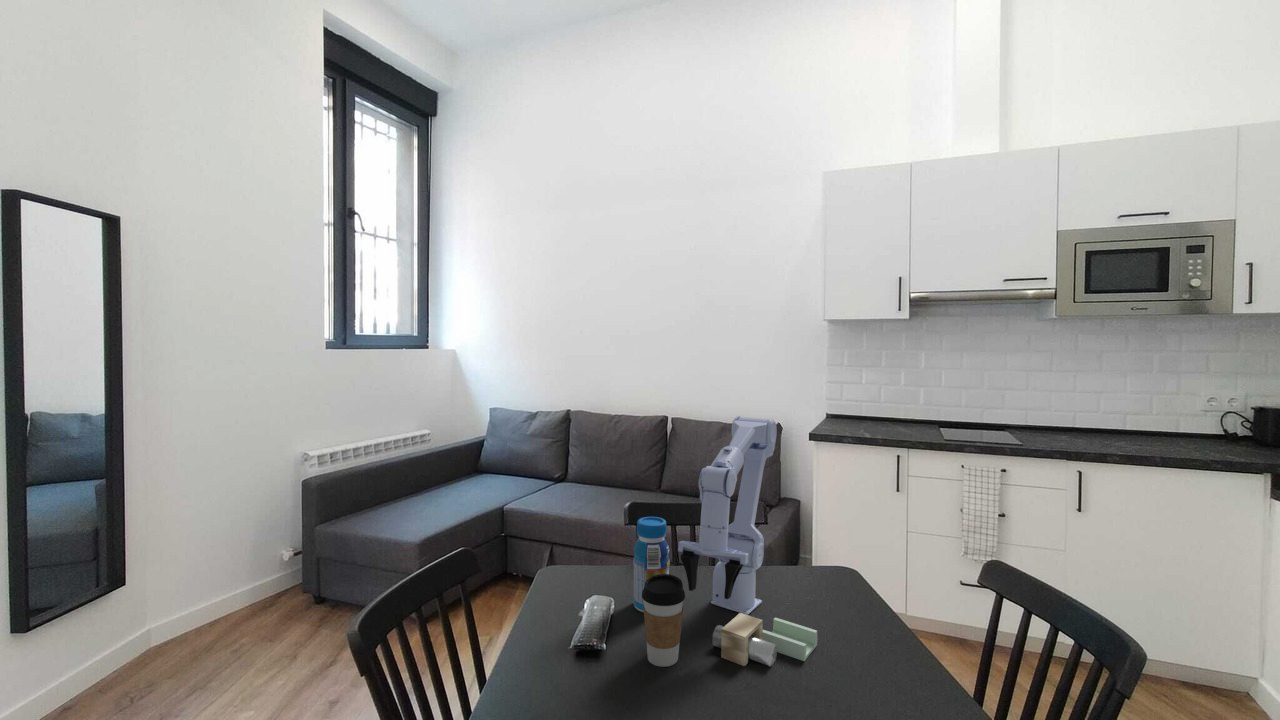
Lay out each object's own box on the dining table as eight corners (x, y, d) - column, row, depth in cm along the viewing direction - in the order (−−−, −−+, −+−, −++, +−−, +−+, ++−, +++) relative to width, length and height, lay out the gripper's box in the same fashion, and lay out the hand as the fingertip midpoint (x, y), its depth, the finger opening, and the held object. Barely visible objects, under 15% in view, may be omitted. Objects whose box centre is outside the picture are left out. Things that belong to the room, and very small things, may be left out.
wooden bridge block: (721, 657, 111) (721, 628, 111) (739, 639, 118) (740, 612, 117) (744, 666, 108) (745, 637, 108) (762, 647, 115) (762, 620, 114)
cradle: (760, 646, 115) (761, 631, 115) (775, 631, 121) (775, 617, 121) (804, 661, 110) (804, 646, 110) (817, 645, 116) (817, 630, 116)
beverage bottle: (625, 608, 131) (626, 522, 130) (645, 594, 138) (646, 512, 137) (657, 618, 126) (657, 529, 125) (676, 603, 133) (676, 519, 132)
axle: (712, 649, 115) (712, 631, 114) (722, 639, 118) (721, 621, 117) (768, 670, 108) (768, 651, 107) (777, 659, 111) (776, 640, 110)
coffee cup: (689, 650, 114) (690, 576, 113) (678, 674, 106) (678, 595, 105) (649, 643, 116) (649, 570, 116) (635, 665, 108) (635, 588, 108)
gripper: (674, 522, 117) (669, 590, 116) (742, 534, 111) (738, 606, 110) (687, 518, 124) (682, 582, 122) (752, 529, 117) (748, 597, 116)
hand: (709, 593), depth 116 cm, fingers open, 7 cm apart
